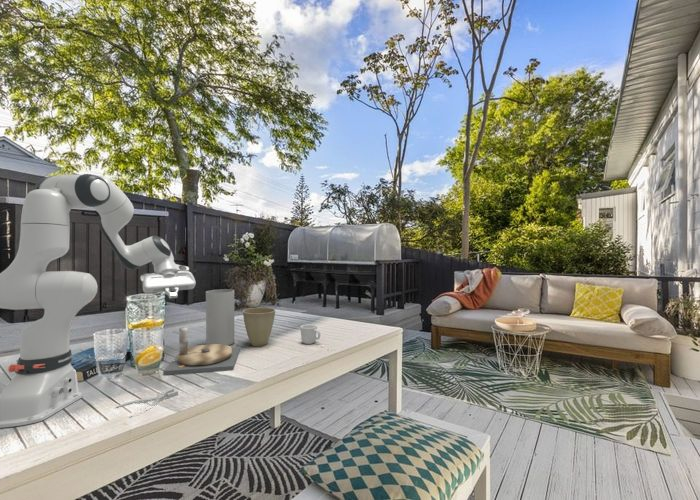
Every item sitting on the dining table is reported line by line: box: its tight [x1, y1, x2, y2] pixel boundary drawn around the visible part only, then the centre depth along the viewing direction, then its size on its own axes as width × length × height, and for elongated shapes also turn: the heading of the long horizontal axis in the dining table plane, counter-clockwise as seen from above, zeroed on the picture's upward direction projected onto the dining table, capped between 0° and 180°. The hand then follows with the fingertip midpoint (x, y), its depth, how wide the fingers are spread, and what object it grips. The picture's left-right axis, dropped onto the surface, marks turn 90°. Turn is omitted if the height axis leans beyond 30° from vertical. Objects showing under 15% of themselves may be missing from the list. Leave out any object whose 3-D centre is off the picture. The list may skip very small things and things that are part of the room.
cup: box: [299, 323, 321, 345], centre depth 160 cm, size 11×8×8 cm
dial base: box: [162, 346, 241, 376], centre depth 135 cm, size 24×24×2 cm
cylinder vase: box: [205, 288, 235, 346], centre depth 159 cm, size 12×12×25 cm
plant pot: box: [242, 307, 276, 347], centre depth 159 cm, size 15×15×16 cm
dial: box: [177, 327, 232, 365], centre depth 135 cm, size 20×20×12 cm
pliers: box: [115, 387, 179, 414], centre depth 100 cm, size 10×2×15 cm
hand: (173, 297), depth 141 cm, fingers closed
